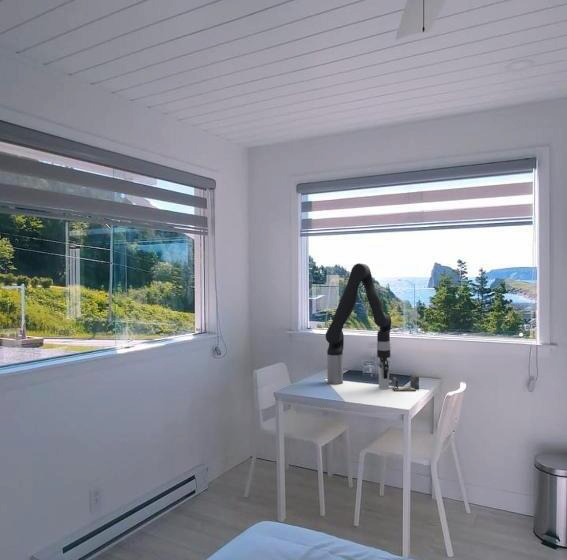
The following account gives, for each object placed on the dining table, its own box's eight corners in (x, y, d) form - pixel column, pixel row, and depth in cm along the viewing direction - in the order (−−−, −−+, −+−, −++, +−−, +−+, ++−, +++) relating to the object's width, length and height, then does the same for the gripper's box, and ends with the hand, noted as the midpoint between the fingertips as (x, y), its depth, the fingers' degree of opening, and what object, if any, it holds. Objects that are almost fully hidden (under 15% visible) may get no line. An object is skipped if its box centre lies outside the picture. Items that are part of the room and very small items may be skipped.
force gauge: (380, 388, 277) (380, 365, 276) (378, 386, 282) (378, 364, 281) (392, 388, 276) (392, 365, 276) (391, 386, 281) (390, 364, 281)
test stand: (393, 391, 270) (393, 378, 270) (389, 385, 283) (389, 374, 283) (421, 391, 269) (421, 378, 269) (415, 385, 282) (415, 373, 282)
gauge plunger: (397, 388, 271) (397, 381, 271) (393, 383, 283) (393, 376, 283) (399, 388, 271) (399, 381, 271) (395, 383, 283) (395, 376, 283)
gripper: (375, 347, 286) (375, 374, 286) (379, 351, 272) (379, 379, 272) (388, 347, 286) (388, 374, 286) (392, 350, 272) (393, 379, 272)
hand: (384, 377), depth 279 cm, fingers open, 8 cm apart
